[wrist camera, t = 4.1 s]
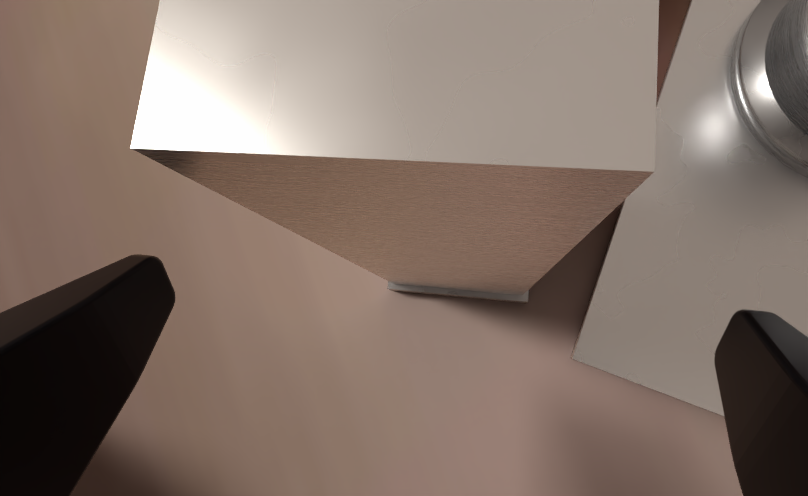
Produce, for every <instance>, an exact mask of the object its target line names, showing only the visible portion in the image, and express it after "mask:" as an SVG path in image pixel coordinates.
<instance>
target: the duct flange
mask: <svg viewBox="0 0 808 496" xmlns="http://www.w3.org/2000/svg"><path fill="white" fill-rule="evenodd" d="M742 309H746V310H757V311H767V312H772V313H774V314H776V315H777V316H779V317H780V318H782V319H783V320H785V321H786V322H787V323H789V324H790V325H792V326H793V327H794V328H796V329H797V330H799V331H800V332H801V333H803V334H804V335H806V336H807V337H808V0H691V1H690V4H689V7H688V10H687V13H686V16H685V19H684V22H683V25H682V28H681V31H680V34H679V37H678V40H677V43H676V46H675V49H674V52H673V55H672V58H671V61H670V64H669V67H668V70H667V72H666V75H665V78H664V81H663V84H662V87H661V90H660V93H659V96H658V99H657V102H656V132H655V169H654V173H653V174H651V175H650V176H649V177H648V178H647V179H646V180H645V181H644V182H643V183H642V184H641V185H640V186H639V187H638V188H637V189H635V190H634V191H633V192H632V193H631V194H630V195H629V196H628V197H627V198H626V199H625V200H624V201H623V204H622V206H621V209H620V212H619V215H618V218H617V221H616V224H615V227H614V230H613V233H612V236H611V239H610V242H609V245H608V248H607V251H606V254H605V257H604V260H603V263H602V266H601V269H600V272H599V275H598V278H597V281H596V284H595V287H594V290H593V293H592V296H591V299H590V302H589V305H588V308H587V311H586V314H585V317H584V320H583V323H582V326H581V329H580V332H579V335H578V338H577V340H576V343H575V346H574V349H573V352H572V355H571V359H574V360H576V361H579V362H582V363H584V364H587V365H590V366H592V367H595V368H598V369H600V370H603V371H605V372H608V373H611V374H613V375H616V376H619V377H621V378H624V379H627V380H629V381H632V382H634V383H637V384H640V385H642V386H645V387H648V388H650V389H653V390H656V391H658V392H661V393H664V394H666V395H669V396H671V397H674V398H677V399H679V400H682V401H685V402H687V403H690V404H693V405H695V406H698V407H700V408H703V409H706V410H708V411H711V412H714V413H716V414H719V415H722V416H724V411H723V406H722V401H721V396H720V390H719V385H718V380H717V375H716V370H715V364H714V357H715V351H716V348H717V346H718V344H719V342H720V340H721V338H722V336H723V334H724V332H725V330H726V327H727V325H728V323H729V321H730V319H731V317H732V316H733V314H734V313H735V312H737V311H738V310H742ZM724 417H725V416H724Z"/></svg>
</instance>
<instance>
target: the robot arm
mask: <svg viewBox="0 0 808 496" xmlns="http://www.w3.org/2000/svg"><path fill="white" fill-rule="evenodd" d="M174 303H175V292H174V289H173V286H172V284H171V282H170V279H169V277H168V275H167V272H166V270H165V268H164V265H163V263H162V261H161V260H160V259H159V258H158V257H155V256H149V255H131V256H128V257H126V258H124V259H121V260H119V261H117V262H115V263H112V264H110V265H108V266H106V267H103V268H101V269H99V270H97V271H94V272H92V273H90V274H88V275H85V276H83V277H81V278H78V279H76V280H74V281H72V282H69V283H67V284H65V285H63V286H60V287H58V288H56V289H54V290H51V291H49V292H47V293H45V294H42V295H40V296H38V297H35V298H33V299H31V300H29V301H26V302H24V303H22V304H20V305H17V306H15V307H13V308H11V309H8V310H6V311H4V312H2V313H0V496H70V495H71V493H72V491H73V489H74V488H75V486H76V484H77V483H78V481H79V479H80V478H81V476H82V474H83V473H84V471H85V469H86V468H87V466H88V464H89V463H90V461H91V459H92V458H93V456H94V454H95V453H96V451H97V449H98V448H99V446H100V444H101V443H102V441H103V439H104V438H105V436H106V434H107V433H108V431H109V429H110V428H111V426H112V424H113V423H114V421H115V419H116V418H117V416H118V414H119V413H120V411H121V409H122V408H123V406H124V404H125V403H126V401H127V399H128V398H129V396H130V394H131V392H132V391H133V389H134V387H135V385H136V384H137V382H138V380H139V378H140V376H141V374H142V372H143V370H144V368H145V366H146V364H147V361H148V359H149V357H150V355H151V353H152V351H153V349H154V347H155V345H156V342H157V340H158V338H159V336H160V334H161V332H162V330H163V328H164V325H165V323H166V321H167V319H168V317H169V315H170V313H171V311H172V308H173V306H174ZM714 364H715V370H716V375H717V380H718V385H719V390H720V396H721V401H722V406H723V411H724V416H725V422H726V427H727V432H728V437H729V442H730V448H731V452H732V457H733V461H734V466H735V469H736V473H737V476H738V480H739V483H740V486H741V489H742V493H743V496H808V337H807V336H806V335H804V334H803V333H801V332H800V331H799V330H797V329H796V328H794V327H793V326H792V325H790V324H789V323H787V322H786V321H785V320H783V319H782V318H780V317H779V316H777V315H776V314H774V313H772V312H767V311H757V310H746V309H742V310H738V311H737V312H735V313H734V314H733V316H732V317H731V319H730V321H729V323H728V325H727V327H726V330H725V332H724V334H723V336H722V338H721V340H720V342H719V344H718V346H717V348H716V351H715V357H714Z"/></svg>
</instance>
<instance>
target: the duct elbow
mask: <svg viewBox="0 0 808 496" xmlns="http://www.w3.org/2000/svg"><path fill="white" fill-rule="evenodd" d="M658 20H659V0H160V3H159V8H158V13H157V18H156V23H155V28H154V33H153V38H152V43H151V48H150V53H149V58H148V63H147V68H146V73H145V78H144V83H143V88H142V93H141V98H140V103H139V108H138V113H137V118H136V123H135V128H134V133H133V138H132V143H131V148H132V149H133V150H135V151H137V152H139V153H141V154H143V155H145V156H147V157H149V158H151V159H153V160H155V161H157V162H159V163H161V164H163V165H164V166H166V167H168V168H170V169H172V170H174V171H176V172H178V173H180V174H182V175H184V176H186V177H188V178H190V179H192V180H194V181H195V182H197V183H199V184H201V185H203V186H205V187H207V188H209V189H211V190H213V191H215V192H217V193H219V194H221V195H223V196H225V197H226V198H228V199H230V200H232V201H234V202H236V203H238V204H240V205H242V206H244V207H246V208H248V209H250V210H252V211H254V212H256V213H258V214H259V215H261V216H263V217H265V218H267V219H269V220H271V221H273V222H275V223H277V224H279V225H281V226H283V227H285V228H287V229H289V230H290V231H292V232H294V233H296V234H298V235H300V236H302V237H304V238H306V239H308V240H310V241H312V242H314V243H316V244H318V245H320V246H321V247H323V248H325V249H327V250H329V251H331V252H333V253H335V254H337V255H339V256H341V257H343V258H345V259H347V260H349V261H351V262H352V263H354V264H356V265H358V266H360V267H362V268H364V269H366V270H368V271H370V272H372V273H374V274H376V275H378V276H380V277H382V278H383V279H385V280H387V281H388V288H387V289H389V290H392V291H402V292H412V293H423V294H434V295H444V296H455V297H465V298H476V299H487V300H497V301H508V302H519V303H527V302H528V294H529V289H530V288H531V287H532V286H533V285H534V284H535V283H536V282H537V281H538V280H539V279H541V278H542V277H543V276H544V275H545V274H546V273H547V272H548V271H549V270H550V269H551V268H552V267H553V266H554V265H555V264H557V263H558V262H559V261H560V260H561V259H562V258H563V257H564V256H565V255H566V254H567V253H568V252H569V251H570V250H571V249H573V248H574V247H575V246H576V245H577V244H578V243H579V242H580V241H581V240H582V239H583V238H584V237H585V236H586V235H587V234H589V233H590V232H591V231H592V230H593V229H594V228H595V227H596V226H597V225H598V224H599V223H600V222H601V221H602V220H603V219H605V218H606V217H607V216H608V215H609V214H610V213H611V212H612V211H613V210H614V209H615V208H616V207H617V206H618V205H619V204H621V203H622V202H623V201H624V200H625V199H626V198H627V197H628V196H629V195H630V194H631V193H632V192H633V191H634V190H635V189H637V188H638V187H639V186H640V185H641V184H642V183H643V182H644V181H645V180H646V179H647V178H648V177H649V176H650V175H651V174H653V173H654V169H655V132H656V94H657V57H658Z"/></svg>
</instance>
